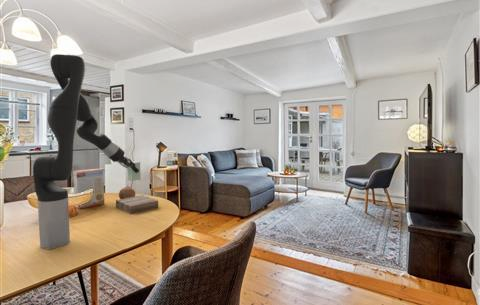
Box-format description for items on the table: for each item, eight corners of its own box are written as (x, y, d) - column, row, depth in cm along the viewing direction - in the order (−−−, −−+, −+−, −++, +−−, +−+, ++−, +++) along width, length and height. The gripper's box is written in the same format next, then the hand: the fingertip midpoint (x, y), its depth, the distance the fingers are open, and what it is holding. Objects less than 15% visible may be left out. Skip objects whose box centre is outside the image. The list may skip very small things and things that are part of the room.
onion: (126, 204, 164) (127, 189, 168) (138, 201, 161) (139, 186, 165) (114, 202, 156) (115, 186, 160) (126, 199, 153) (127, 183, 157)
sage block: (140, 179, 147) (140, 162, 146) (131, 180, 143) (131, 162, 142) (136, 178, 150) (135, 161, 149) (127, 179, 146) (127, 162, 146)
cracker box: (100, 202, 158) (99, 168, 157) (104, 204, 154) (103, 169, 153) (74, 207, 148) (73, 170, 146) (78, 209, 144) (76, 171, 142)
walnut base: (158, 207, 148) (158, 200, 147) (130, 213, 136) (130, 206, 136) (142, 201, 160) (142, 195, 160) (116, 207, 148) (115, 200, 148)
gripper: (123, 146, 134) (146, 167, 144) (112, 145, 144) (133, 165, 153) (113, 157, 130) (137, 178, 140) (102, 155, 140) (125, 175, 150)
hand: (135, 171), depth 147 cm, fingers closed on sage block, 5 cm apart
